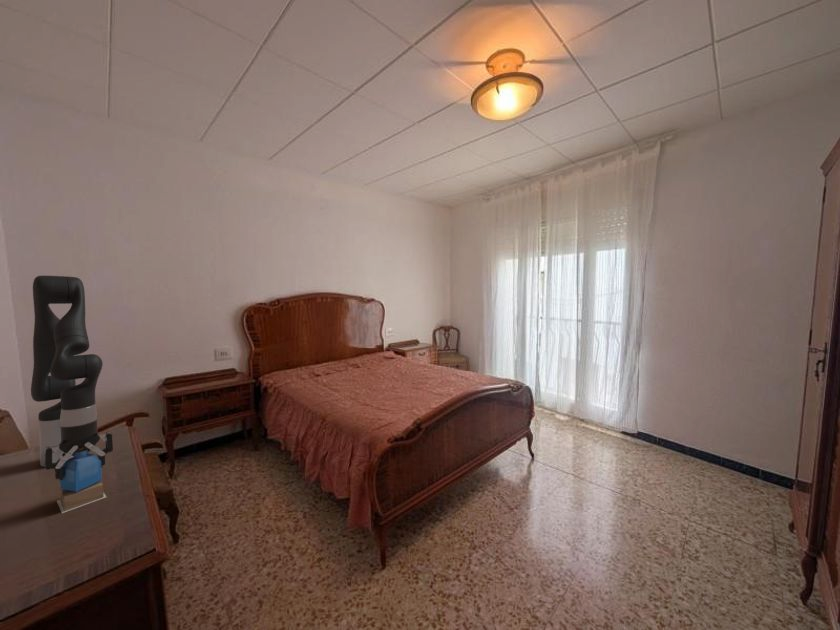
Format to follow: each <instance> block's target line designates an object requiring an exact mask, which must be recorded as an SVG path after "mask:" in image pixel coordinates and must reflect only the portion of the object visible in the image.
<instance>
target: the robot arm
mask: <svg viewBox="0 0 840 630" xmlns="http://www.w3.org/2000/svg"><path fill="white" fill-rule="evenodd" d="M85 295H86V294H85V286H84V283H83V281H82V280H81V278H80V277H76V276H63V275H37V276H35V278H34V279H33V283H32V298H33V311H34V323H33V324H34V326H33V337H32V339H33V341H32V349H33V350H32V351H33V353H32V354H33V367H32V368H33V369H32V375H31V376H32V378H31V383H30V384H31V385H30V394H31V395H30V396H31V398H32V400H33V401H34V402H39V403H40V402H48V401H54V400H60V401H59V402H57V403H56V404H54V405H51V406H49V407H48V408H45V409H42V410H41V411H39V413H38V415H37V417H38V431H39V432H38V435H39V459H40V460H39V461H40V464H39V465H40V467H42V468H43V467H44V468H45V469H46V470H48V471H49V470H51V469H54V478H55V480H59V481H60V480H63V467H62V466H63V464H64V463H65V462H66V461H67V460H68V459H69V458H72V457H74V455H75V453H76V452H77V451H76V449H77V448H80V447H84V446H86V449H85V450H88V453H89V452H91V451H92V452H93V453H94V454H97V456H96V457H97V458H98V459H99V460H100V461H101V469H102V468H103V466H105V464H106V455H107V454H108V453H111V452H113V450H114V447H113V434H112V433H111V432H110V431H106V432H105V433H103V434H99V433H98V412H97V411H98V409H97V406H96V387H97V384H98V380H99V377H100V374H101V371H102V369H103V366H104V365H103V360H102V358H101V357H100V356H99V355H97V354H95V353H89V354H85V352H87V351H88V350H89V349H90V340H89V336H88V332H87V326H86V325H87V324H86V296H85ZM52 304H53V305H55V304H58V305H59V304H61V305H62V304H63V305H65V304H69V305H70V304H71V305H70V309H68V311H67V312H66V313H65V314H64V315H63V316H62V317H61V318H59V317H58V316H57V315H56V314H55V313H54V312H53V311H52V309H51V308H50V305H52ZM83 353H84V354H83ZM78 379H79V380H80V379H83V381H82V382H80V383H79V384H77V383H76V380H78ZM100 440H102V441H103V442H105V448H103V449H102V448H100V447H99V446H97V444H98V443H99V441H100Z"/></svg>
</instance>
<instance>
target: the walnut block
mask: <svg viewBox="0 0 840 630" xmlns="http://www.w3.org/2000/svg"><path fill="white" fill-rule="evenodd" d="M102 482H103V481H102V480H101V481H99V482H97V483H95V484H93V485H90V486H88V487H86V488H84V489H82V490H80V491H78V492H74V491H68V490H63V489H61V487H59V500H60V501H61V504H62V506H63V508H64V510H65V511H67V510H70V509H72V508H75V507H78V506H81V505H83V504H86V503H89V502H92V501H94V500H97V499H100V498H103V497H104V496H103V492H104V484H103V483H102ZM103 499H104V498H103ZM100 500H101V499H100ZM97 501H98V500H97ZM92 503H93V502H92ZM89 504H90V503H89ZM86 505H87V504H86ZM81 507H82V506H81ZM78 508H79V507H78ZM75 509H76V508H75ZM70 511H71V510H70ZM67 512H68V511H67Z"/></svg>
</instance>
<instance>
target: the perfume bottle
mask: <svg viewBox="0 0 840 630" xmlns="http://www.w3.org/2000/svg"><path fill="white" fill-rule="evenodd" d="M85 449H86V446H84V447H80V448H77V449H76V451H77V452H76V453H75V455H74V457H72V458H69V459H68V460H67V461H66V462H65V463H64V464H63V465H62V467H63V480H60V482H59V483H60V488H61V489H63V490H68V491H74V492H78V491H80V490H82V489H84V488H86V487H88V486H90V485H93V484H95V483H97V482H99V481H101V482H102V478H103V477H102V468H101V461H100V460H99V459H98V458H97V456H96V455H95V454H92V453H89V452H88V450H85Z"/></svg>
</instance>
